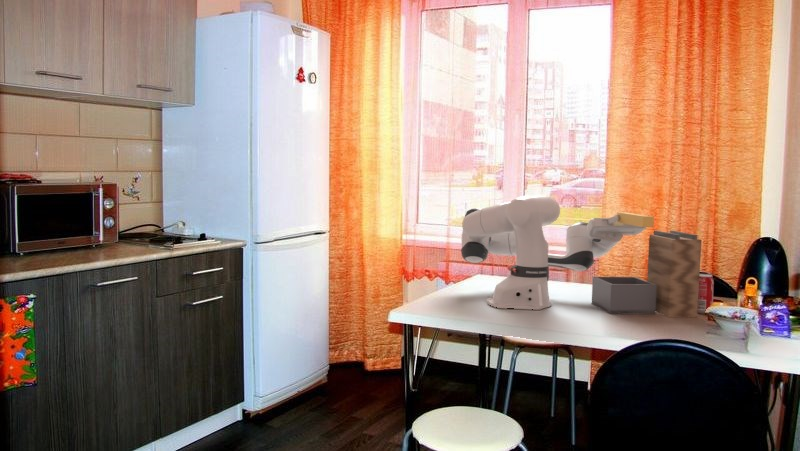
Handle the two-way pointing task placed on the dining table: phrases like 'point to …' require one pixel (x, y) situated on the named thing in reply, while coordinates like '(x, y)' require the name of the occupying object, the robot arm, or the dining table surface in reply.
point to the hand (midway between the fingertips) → (625, 216)
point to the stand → (675, 272)
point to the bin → (624, 295)
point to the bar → (636, 219)
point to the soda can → (705, 292)
